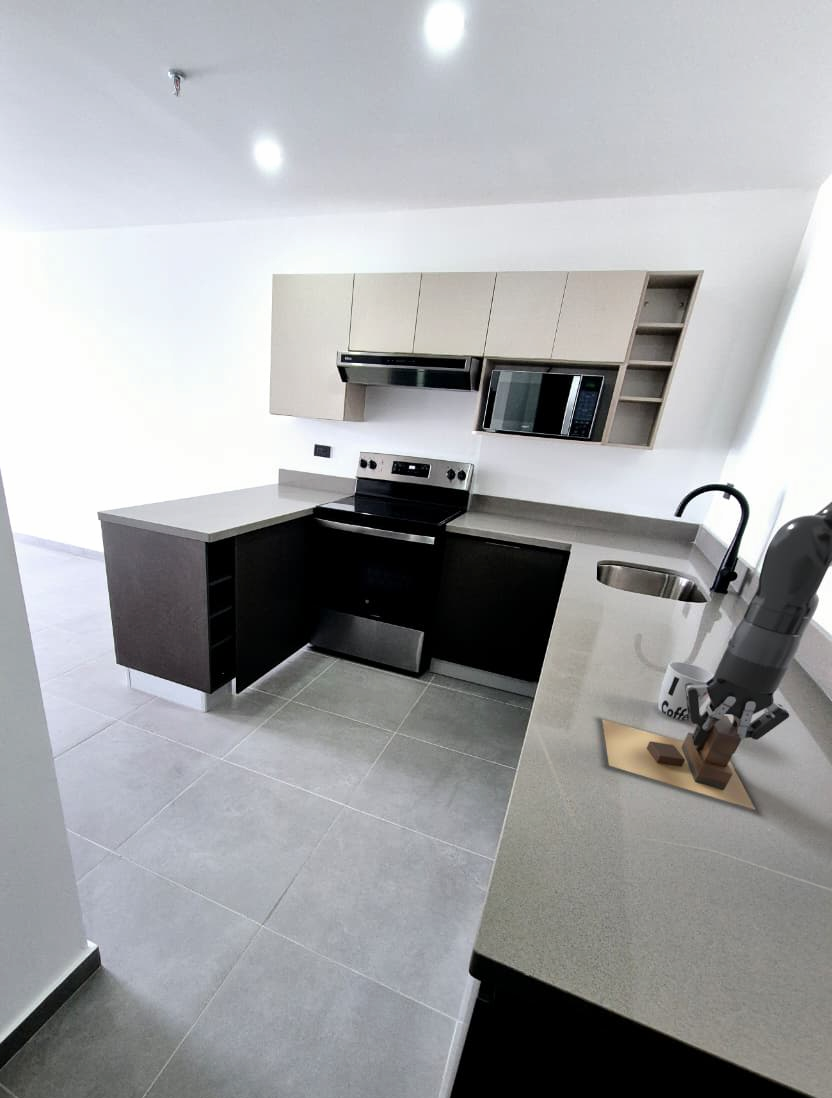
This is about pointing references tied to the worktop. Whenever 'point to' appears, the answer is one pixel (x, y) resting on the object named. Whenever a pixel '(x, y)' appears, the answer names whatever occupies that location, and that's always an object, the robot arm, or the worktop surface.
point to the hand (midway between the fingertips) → (710, 750)
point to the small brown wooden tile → (665, 754)
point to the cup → (681, 688)
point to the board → (634, 757)
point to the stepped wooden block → (713, 754)
